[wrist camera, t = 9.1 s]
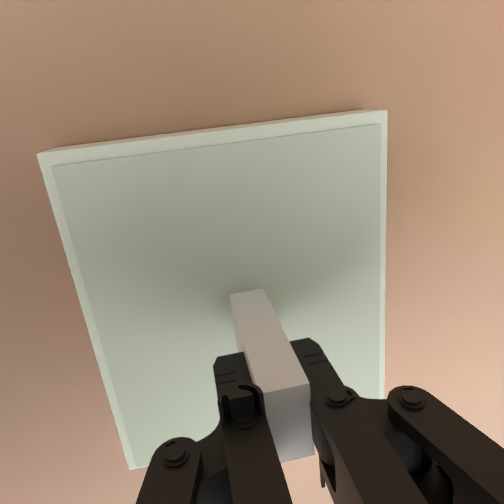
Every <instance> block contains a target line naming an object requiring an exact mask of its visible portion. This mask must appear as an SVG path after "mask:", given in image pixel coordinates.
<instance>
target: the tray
mask: <svg viewBox="0 0 504 504" xmlns="http://www.w3.org/2000/svg"><path fill="white" fill-rule="evenodd" d="M387 114H388V110H353V111H345V112H337V113H329V114H321V115H313V116H305V117H297V118H289V119H281V120H273V121H264V122H256V123H248V124H240V125H232V126H224V127H216V128H208V129H200V130H192V131H184V132H176V133H168V134H160V135H152V136H144V137H135V138H127V139H119V140H111V141H103V142H95V143H87V144H79V145H71V146H63V147H55V148H52V149H49V150H46V151H43V152H40V153H37V154H36V155H37V159H38V162H39V165H40V169H41V172H42V176H43V179H44V182H45V186H46V189H47V193H48V196H49V199H50V203H51V206H52V210H53V213H54V216H55V220H56V223H57V227H58V230H59V233H60V237H61V240H62V244H63V247H64V250H65V254H66V257H67V261H68V264H69V267H70V271H71V274H72V278H73V281H74V284H75V288H76V291H77V295H78V298H79V301H80V305H81V308H82V312H83V315H84V318H85V322H86V325H87V329H88V332H89V335H90V339H91V342H92V346H93V349H94V352H95V356H96V359H97V363H98V366H99V369H100V373H101V376H102V380H103V383H104V386H105V390H106V393H107V397H108V400H109V403H110V407H111V410H112V414H113V417H114V420H115V424H116V427H117V431H118V434H119V437H120V441H121V444H122V447H123V451H124V454H125V458H126V461H127V464H128V468H129V471H130V470H134V469H138V468H143V467H147V466H149V463H150V461H151V458H152V456H153V454H154V452H155V450H156V449H157V448H158V447H159V446H160V445H161V444H162V443H164V442H166V441H168V440H170V439H172V438H177V437H188V438H191V439H193V440H194V441H196V442H197V441H199V440H201V439H203V438H205V437H206V436H208V435H209V434H211V433H212V432H213V431H214V430H215V428H216V427H217V425H218V423H219V420H220V415H219V410H218V404H217V401H218V398H217V391H216V384H215V377H214V371H213V365H214V363H215V360H216V358H217V357H219V356H224V355H229V354H234V353H238V350H237V344H236V338H235V331H234V324H233V317H232V310H231V303H230V296H229V294H234V293H239V292H245V291H250V290H256V289H262V288H263V290H264V292H265V294H266V296H267V298H268V300H269V302H270V304H271V306H272V308H273V310H274V312H275V314H276V316H277V318H278V320H279V322H280V324H281V326H282V328H283V330H284V332H285V334H286V336H287V338H288V340H289V341H294V340H299V339H304V338H311V339H312V340H314V341H315V342H317V343H318V344H319V345H320V347H321V348H322V350H323V352H324V354H325V355H326V356H327V358H328V361H330V363H331V365H332V366H333V368H334V369H335V371H336V373H337V374H338V376H339V378H340V379H341V381H342V382H343V384H344V386H347V387H349V388H352V389H353V390H354V391H355V392H356V393H357V394H358V395H359V396H360V397H363V398H369V399H384V376H385V288H386V201H387Z"/></svg>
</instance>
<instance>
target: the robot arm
mask: <svg viewBox="0 0 504 504" xmlns="http://www.w3.org/2000/svg"><path fill="white" fill-rule="evenodd" d="M229 296H230V303H231V310H232V317H233V324H234V331H235V338H236V344H237V350H238V353H234V354H229V355H224V356H219V357H217V358H216V360H215V363H214V365H213V371H214V377H215V384H216V391H217V398H218V401H217V404H218V410H219V415H220V420H219V423H218V425H217V427H216V428H215V430H214V431H213V432H212V433H211V434H209V435H208V436H206V437H205V438H203V439H201V440H199V441H197V442H196V441H194V440H193V439H191V438H188V437H177V438H172V439H170V440H168V441H166V442H164V443H162V444H161V445H160V446H159V447H158V448H157V449H156V450H155V452H154V454H153V456H152V458H151V461H150V463H149V466H148V469H147V472H146V475H145V478H144V481H143V484H142V487H141V490H140V492H139V495H138V498H137V501H136V504H293V503H292V500H291V497H290V493H289V490H288V487H287V483H286V480H285V477H284V473H283V470H282V467H281V462H286V461H290V460H294V459H298V458H302V457H306V456H311V455H315V452H314V444H315V446H316V449H317V451H318V453H319V465H320V480H321V487H322V488H323V487H325V482H326V484H327V487H328V489H329V492H330V494H331V497H332V499H333V502H334V504H504V448H502V447H501V446H500V445H498V444H497V443H496V442H494V441H493V440H492V439H490V438H489V437H488V436H486V435H485V434H484V433H482V432H481V431H480V430H478V429H477V428H476V427H474V426H473V425H472V424H470V423H469V422H467V421H466V420H465V419H463V418H462V417H461V416H459V415H458V414H457V413H455V412H454V411H453V410H451V409H450V408H449V407H447V406H446V405H445V404H443V403H442V402H441V401H439V400H438V399H437V398H435V397H434V396H433V395H431V394H430V393H429V392H427V391H425V390H423V389H421V388H418V387H414V386H400V387H396V388H394V389H393V390H391V391H390V392H389V395H388V397H387V399H369V398H363V397H360V396H359V395H358V394H357V393H356V392H355V391H354V390H353V389H352V388H349V387H347V386H344V384H343V382H342V381H341V379H340V378H339V376H338V374H337V373H336V371H335V369H334V368H333V366H332V365H331V363H330V361H328V358H327V356H326V355H325V354H324V352H323V350H322V348H321V347H320V345H319V344H318V343H317V342H315V341H314V340H312V339H311V338H304V339H299V340H294V341H289V340H288V338H287V336H286V334H285V332H284V330H283V328H282V326H281V324H280V322H279V320H278V318H277V316H276V314H275V312H274V310H273V308H272V306H271V304H270V302H269V300H268V298H267V296H266V294H265V292H264V290H263V288H262V289H256V290H250V291H245V292H239V293H234V294H229Z"/></svg>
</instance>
